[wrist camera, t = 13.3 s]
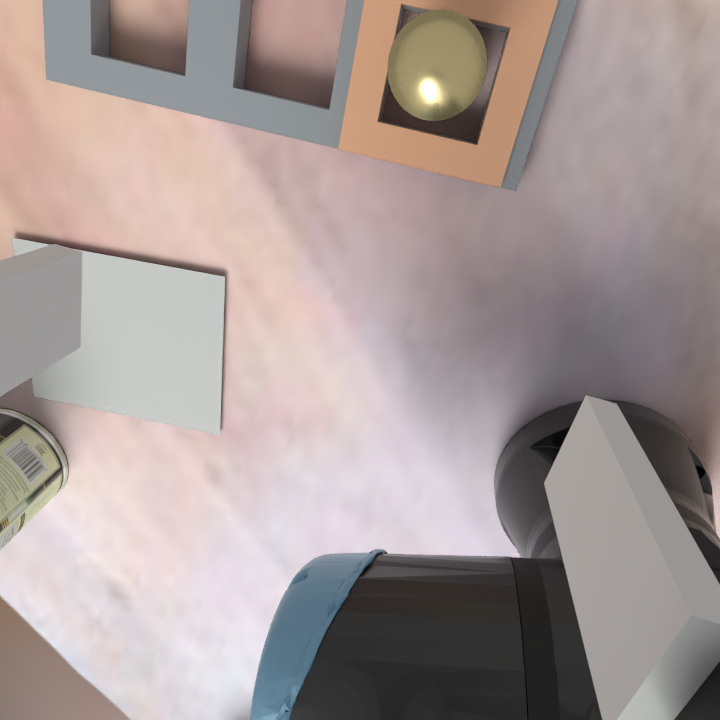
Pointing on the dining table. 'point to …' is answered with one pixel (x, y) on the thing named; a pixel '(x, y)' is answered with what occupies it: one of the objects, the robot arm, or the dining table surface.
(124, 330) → the paper stack
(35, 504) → the coffee can
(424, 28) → the brass peg
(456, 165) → the hole plate
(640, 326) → the dining table surface
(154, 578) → the dining table surface
